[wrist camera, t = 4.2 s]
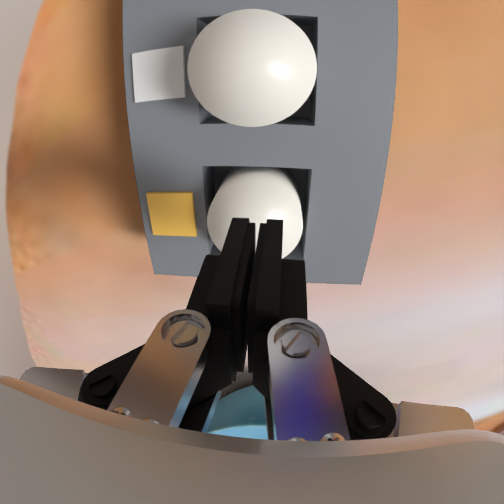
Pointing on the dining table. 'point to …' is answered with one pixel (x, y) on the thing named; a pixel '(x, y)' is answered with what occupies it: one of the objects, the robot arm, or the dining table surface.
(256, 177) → the button
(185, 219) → the button board
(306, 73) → the middle button
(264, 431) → the casserole dish
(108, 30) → the dining table surface
